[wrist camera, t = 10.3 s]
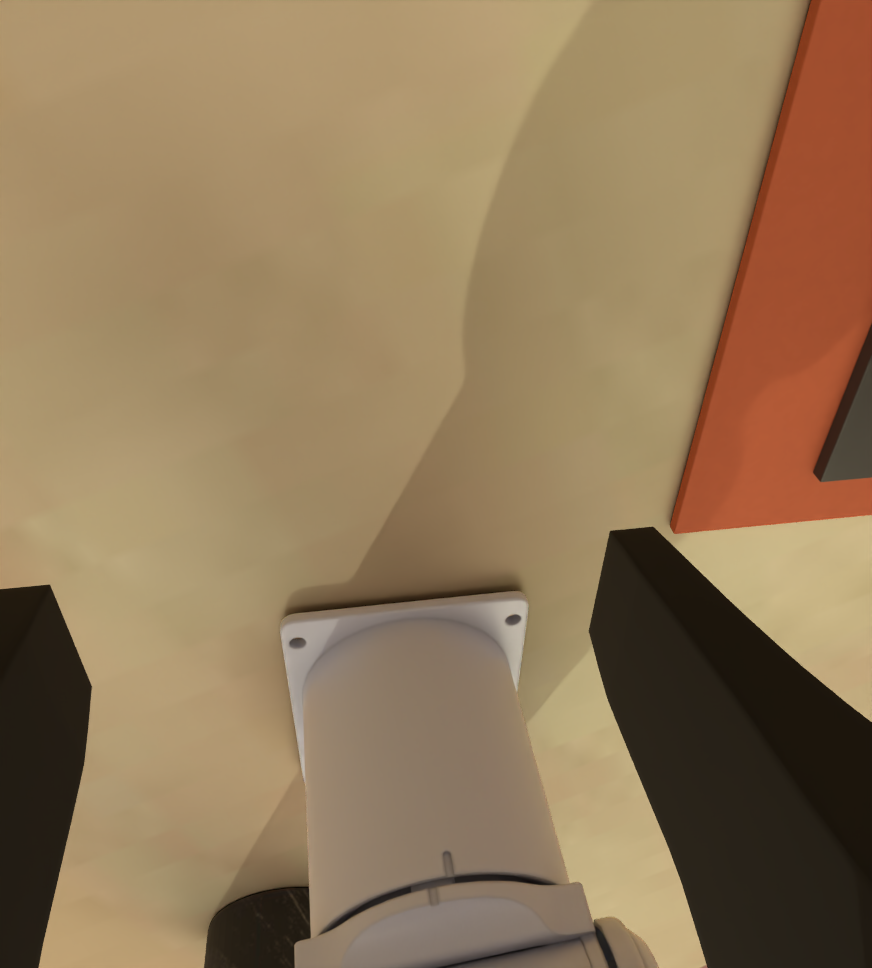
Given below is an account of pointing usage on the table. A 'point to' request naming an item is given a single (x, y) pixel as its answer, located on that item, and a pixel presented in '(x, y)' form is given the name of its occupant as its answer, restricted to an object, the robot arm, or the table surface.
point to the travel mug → (259, 930)
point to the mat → (795, 300)
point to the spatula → (851, 427)
